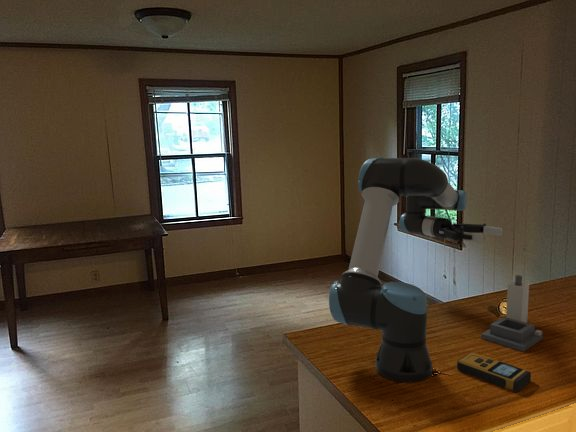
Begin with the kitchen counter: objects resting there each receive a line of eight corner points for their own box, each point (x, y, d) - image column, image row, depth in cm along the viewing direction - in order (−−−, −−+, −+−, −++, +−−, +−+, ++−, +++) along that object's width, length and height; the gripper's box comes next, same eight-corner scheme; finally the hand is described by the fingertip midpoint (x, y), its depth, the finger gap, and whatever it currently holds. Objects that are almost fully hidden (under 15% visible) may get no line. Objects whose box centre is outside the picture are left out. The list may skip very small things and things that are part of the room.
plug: (520, 325, 159) (523, 279, 157) (505, 321, 163) (508, 275, 160) (527, 322, 162) (529, 276, 159) (512, 318, 166) (514, 273, 163)
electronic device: (471, 361, 137) (471, 349, 137) (531, 382, 125) (532, 369, 124) (454, 372, 132) (455, 359, 131) (516, 394, 119) (516, 381, 119)
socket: (523, 351, 141) (524, 337, 140) (481, 338, 151) (481, 324, 150) (542, 338, 149) (543, 324, 148) (501, 326, 159) (501, 313, 158)
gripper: (455, 231, 190) (508, 239, 174) (417, 242, 174) (472, 252, 158) (455, 213, 189) (509, 219, 173) (417, 222, 173) (473, 230, 157)
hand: (492, 235), depth 165 cm, fingers open, 13 cm apart
